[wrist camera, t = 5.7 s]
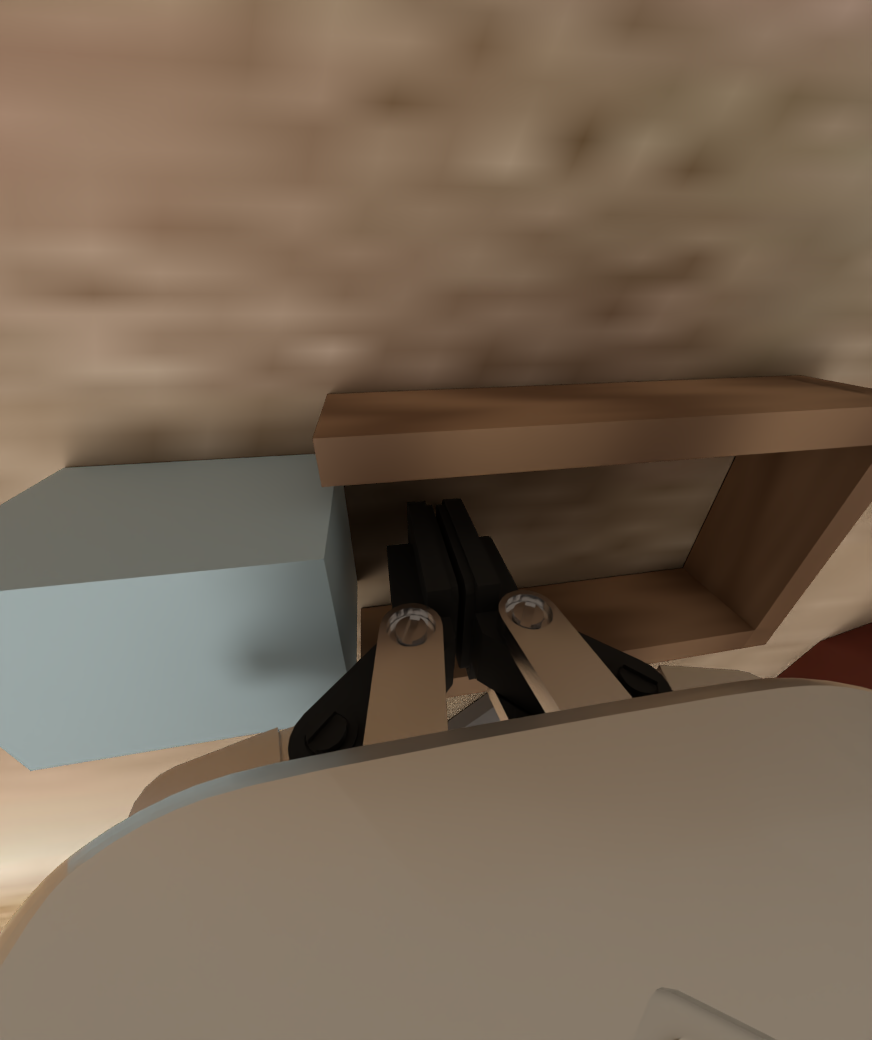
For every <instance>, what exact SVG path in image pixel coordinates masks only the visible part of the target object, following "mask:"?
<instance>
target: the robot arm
mask: <svg viewBox="0 0 872 1040" xmlns="http://www.w3.org/2000/svg"><path fill="white" fill-rule="evenodd" d="M407 521H408V544H399V545H388V546H387V557H388V569H389V581H390V592H391V602H392V609H391V610H390V611H388V612H387V613H386V614H385V616H384V617H383V618H382V620H381V623H380V626H379V633H378V640H377V643H376V644H375V645H374V646H373V647H372V648H371V649H370V650H369V651H368V652H367V653H366V654H365V655H364V656H363V657H362V658H361V659H360V660H359V661H358V662H357V663H356V664H355V665H354V666H353V667H352V668H351V669H350V670H349V671H348V672H346V673H345V674H344V675H343V676H342V677H341V678H340V679H339V680H338V681H337V682H336V683H335V684H334V685H333V686H332V687H331V688H330V689H329V690H328V691H327V692H326V693H325V694H324V695H323V696H322V697H321V698H320V699H319V700H318V701H317V702H316V703H315V704H314V705H313V706H312V707H311V708H310V709H309V710H307V711H306V712H305V713H304V714H303V716H302V717H301V718H300V719H299V721H298V722H297V723H296V724H295V726H293V727H290V728H287V729H285V730H282V731H279V729H278V727H277V728H274V729H271V730H269V731H266V732H264V733H261V734H258V735H256V736H253V737H251V738H248V739H245V740H243V741H240V742H238V743H235V744H232V745H230V746H227V747H224V748H222V749H219V750H217V751H214V752H211V753H209V754H206V755H204V756H201V757H198V758H196V759H193V760H191V761H188V762H185V763H183V764H180V765H178V766H175V767H173V768H171V769H170V770H168V771H166V772H164V773H162V774H160V775H159V776H158V777H157V778H156V779H155V780H154V781H152V782H151V783H150V784H149V785H148V786H147V787H146V788H145V789H144V790H143V792H142V793H141V794H140V796H139V797H138V799H137V800H136V801H135V803H134V804H133V807H132V809H131V812H130V814H129V817H128V818H127V819H125V820H124V821H122V822H120V823H118V824H117V825H115V826H113V827H112V828H110V829H108V830H107V831H105V832H104V833H102V834H101V835H100V836H98V837H97V838H95V839H94V840H92V841H91V842H89V843H88V844H87V845H85V846H84V847H82V848H81V849H79V850H78V851H77V852H75V853H74V854H73V855H72V856H70V857H69V858H68V859H67V860H65V861H64V862H63V863H62V864H61V865H59V866H58V867H57V868H56V869H55V870H54V871H53V872H52V873H51V874H49V875H48V876H47V877H46V878H45V879H44V880H43V881H42V882H41V883H40V885H39V886H38V887H37V888H36V889H35V890H34V891H33V892H32V893H31V894H30V896H29V897H28V898H27V899H26V900H25V901H24V902H23V903H22V905H21V906H20V907H19V908H18V910H17V911H16V912H15V913H14V915H13V916H12V917H11V919H10V920H9V921H8V923H7V924H6V925H5V926H4V928H3V929H2V931H1V932H0V1040H872V690H871V689H868V688H864V687H860V686H855V685H849V684H844V683H839V682H833V681H827V680H816V679H804V678H765V679H762V678H760V677H757V676H755V675H753V674H751V673H748V672H744V671H739V670H728V669H713V668H698V667H682V666H667V665H659V667H658V668H657V669H654V668H653V667H652V666H650V665H648V664H647V663H645V662H643V661H642V660H639V659H637V658H635V657H633V656H631V655H628V654H626V653H624V652H622V651H620V650H618V649H615V648H613V647H611V646H609V645H607V644H605V643H602V642H600V641H598V640H596V639H594V638H592V637H589V636H587V635H585V634H583V633H581V632H578V631H577V630H576V629H575V628H574V627H573V626H572V624H571V623H570V622H569V621H568V620H567V618H566V617H565V616H564V615H563V614H562V612H561V611H560V610H559V609H558V608H557V606H556V605H555V604H554V603H553V602H552V601H551V600H550V599H549V598H547V597H545V596H544V595H542V594H540V593H537V592H534V591H529V590H518V588H517V586H516V584H515V582H514V580H513V578H512V576H511V574H510V573H509V571H508V569H507V567H506V565H505V563H504V561H503V559H502V557H501V555H500V554H499V552H498V550H497V548H496V546H495V544H494V542H493V540H492V539H491V537H489V536H483V537H479V536H478V534H477V532H476V529H475V527H474V525H473V523H472V521H471V519H470V517H469V515H468V513H467V511H466V509H465V506H464V504H463V502H462V500H461V499H460V498H458V499H445V500H443V501H442V504H439V505H436V516H435V513H434V510H433V507H432V505H426V503H425V501H419V502H407ZM455 655H456V659H457V663H458V666H459V668H460V669H462V668H466V671H467V675H468V678H469V680H472V679H477V681H479V682H481V683H482V684H484V685H485V686H487V691H488V695H489V698H490V700H491V702H492V704H493V706H494V708H495V710H496V712H497V715H498V717H499V719H500V721H498V722H493V723H487V724H481V725H476V726H470V727H464V728H459V729H453V730H448V722H447V702H446V693H447V692H448V690H449V689H450V687H451V686H452V685H453V675H454V668H455Z"/></svg>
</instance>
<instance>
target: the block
mask: <svg viewBox="0 0 872 1040" xmlns="http://www.w3.org/2000/svg"><path fill="white" fill-rule="evenodd" d="M356 657H357V575H356V568H355V562H354V555H353V548H352V541H351V534H350V527H349V520H348V513H347V506H346V499H345V492H344V486H331V487H322V486H321V481H320V476H319V471H318V465H317V460H316V455H315V454H304V455H286V456H268V457H250V458H232V459H214V460H196V461H178V462H160V463H142V464H124V465H106V466H89V467H71V468H62V469H61V470H59V471H57V472H56V473H54V474H52V475H51V476H49V477H47V478H46V479H44V480H42V481H40V482H39V483H37V484H35V485H34V486H32V487H30V488H29V489H27V490H25V491H23V492H22V493H20V494H18V495H17V496H15V497H13V498H12V499H10V500H8V501H6V502H5V503H3V504H1V505H0V747H1V748H2V749H4V750H5V751H6V752H7V753H9V754H10V755H11V756H12V757H14V758H15V759H16V760H18V761H19V762H20V763H21V764H23V765H24V766H25V767H26V768H28V769H29V770H30V771H33V770H39V769H45V768H51V767H57V766H63V765H69V764H76V763H82V762H88V761H94V760H100V759H106V758H112V757H118V756H124V755H130V754H136V753H142V752H148V751H154V750H160V749H166V748H172V747H178V746H184V745H191V744H197V743H203V742H209V741H215V740H221V739H227V738H233V737H239V736H245V735H251V734H257V733H263V732H266V731H269V730H271V729H274V728H277V727H278V729H279V730H281V729H287V728H290V727H293V726H295V724H296V723H297V722H298V721H299V719H300V718H301V717H302V716H303V714H304V713H305V712H306V711H307V710H309V709H310V708H311V707H312V706H313V705H314V704H315V703H316V702H317V701H318V700H319V699H320V698H321V697H322V696H323V695H324V694H325V693H326V692H327V691H328V690H329V689H330V688H331V687H332V686H333V685H334V684H335V683H336V682H337V681H338V680H339V679H340V678H341V677H342V676H343V675H344V674H345V673H346V672H348V671H349V670H350V669H351V668H352V667H353V666H354V665H355V664H356Z"/></svg>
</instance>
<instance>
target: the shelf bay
mask: <svg viewBox="0 0 872 1040" xmlns="http://www.w3.org/2000/svg"><path fill="white" fill-rule="evenodd" d="M312 439H313V444H314V450H315V455H316V460H317V465H318V471H319V476H320V481H321V486H322V487H331V486H344V485H357V484H370V483H383V482H396V481H410V480H423V479H436V478H449V477H462V476H475V475H488V474H501V473H514V472H527V471H540V470H553V469H567V468H580V467H593V466H606V465H619V464H632V463H645V462H658V461H671V460H684V459H697V458H710V457H724V456H736V458H735V460H734V462H733V464H732V466H731V468H730V470H729V472H728V474H727V477H726V479H725V481H724V483H723V485H722V487H721V489H720V491H719V493H718V495H717V497H716V500H715V502H714V504H713V506H712V508H711V510H710V512H709V514H708V516H707V518H706V521H705V523H704V525H703V527H702V529H701V531H700V533H699V535H698V537H697V539H696V542H695V544H694V546H693V548H692V550H691V552H690V554H689V556H688V558H687V560H686V562H685V565H684V567H683V568H679V569H672V570H664V571H656V572H648V573H640V574H632V575H624V576H616V577H608V578H600V579H592V580H585V581H577V582H569V583H561V584H553V585H545V586H537V587H529V588H521V589H518V590H529V591H534V592H537V593H540V594H542V595H544V596H545V597H547V598H549V599H550V600H551V601H552V602H553V603H554V604H555V605H556V606H557V608H558V609H559V610H560V611H561V612H562V614H563V615H564V616H565V617H566V618H567V620H568V621H569V622H570V623H571V624H572V626H573V627H574V628H575V629H576V630H577V631H578V632H581V633H583V634H585V635H587V636H589V637H592V638H594V639H596V640H598V641H600V642H602V643H605V644H607V645H609V646H611V647H613V648H615V649H618V650H620V651H622V652H624V653H626V654H628V655H631V656H633V657H635V658H637V659H639V660H642V661H643V662H645V663H647V664H651V663H657V662H663V661H669V660H675V659H681V658H687V657H693V656H699V655H705V654H711V653H717V652H723V651H729V650H735V649H741V648H747V647H753V646H758V645H764V644H766V643H767V641H768V640H769V639H770V637H771V636H772V634H773V633H774V632H775V630H776V629H777V628H778V626H779V625H780V624H781V622H782V621H783V620H784V618H785V617H786V616H787V614H788V613H789V612H790V610H791V609H792V608H793V606H794V605H795V604H796V602H797V601H798V600H799V598H800V597H801V596H802V594H803V593H804V592H805V590H806V589H807V588H808V586H809V585H810V584H811V582H812V581H813V580H814V578H815V577H816V575H817V574H818V573H819V571H820V570H821V569H822V567H823V566H824V565H825V563H826V562H827V561H828V559H829V558H830V557H831V555H832V554H833V553H834V551H835V550H836V549H837V547H838V546H839V545H840V543H841V542H842V541H843V539H844V538H845V537H846V535H847V534H848V533H849V531H850V530H851V529H852V527H853V526H854V525H855V523H856V522H857V520H858V519H859V518H860V516H861V515H862V514H863V512H864V511H865V510H866V508H867V507H868V506H869V504H870V503H871V502H872V389H871V388H865V387H860V386H855V385H849V384H844V383H839V382H833V381H828V380H823V379H818V378H812V377H807V376H802V375H794V376H769V377H744V378H718V379H693V380H668V381H643V382H618V383H592V384H567V385H542V386H517V387H492V388H466V389H441V390H416V391H391V392H366V393H341V394H327V397H326V400H325V403H324V406H323V409H322V412H321V415H320V418H319V421H318V424H317V426H316V429H315V432H314V435H313V438H312ZM391 609H392V605H387V606H379V607H371V608H363V609H361V658H362V657H363V656H364V655H365V654H366V653H367V652H368V651H369V650H370V649H371V648H372V647H373V646H374V645H375V644H376V643H377V640H378V633H379V626H380V623H381V620H382V618H383V617H384V616H385V614H386V613H387V612H388V611H390V610H391ZM485 691H487V686H485V685H484V684H482V683H481V682H479V681H477V679H472V680H469V678H468V675H467V671H466V668H462V669H460V668H459V666H458V663H457V659H456V655H455V668H454V675H453V685H452V686H451V687H450V689H449V690H448V692H447V693H446V698H449V697H455V696H461V695H467V694H473V693H479V692H485Z"/></svg>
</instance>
